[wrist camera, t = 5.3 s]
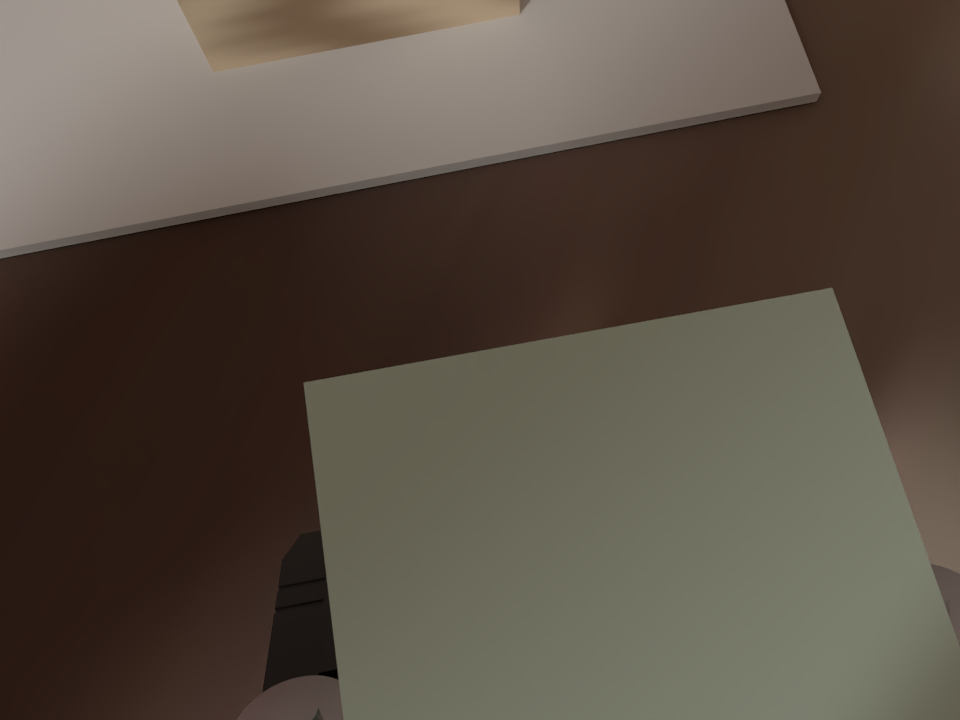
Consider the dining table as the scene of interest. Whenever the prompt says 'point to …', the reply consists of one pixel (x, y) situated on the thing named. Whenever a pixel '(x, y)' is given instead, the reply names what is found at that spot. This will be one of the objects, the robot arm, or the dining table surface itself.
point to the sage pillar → (629, 530)
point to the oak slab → (320, 24)
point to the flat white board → (347, 104)
